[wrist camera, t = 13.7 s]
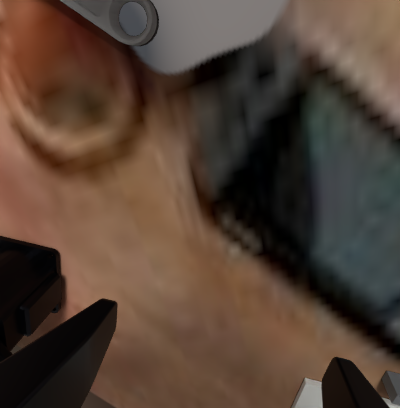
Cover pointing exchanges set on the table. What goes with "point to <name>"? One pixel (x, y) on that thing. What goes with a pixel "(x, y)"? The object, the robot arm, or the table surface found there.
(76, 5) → the adjustable wrench
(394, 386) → the charging dock
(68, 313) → the table surface
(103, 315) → the robot arm
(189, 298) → the table surface
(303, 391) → the mat
